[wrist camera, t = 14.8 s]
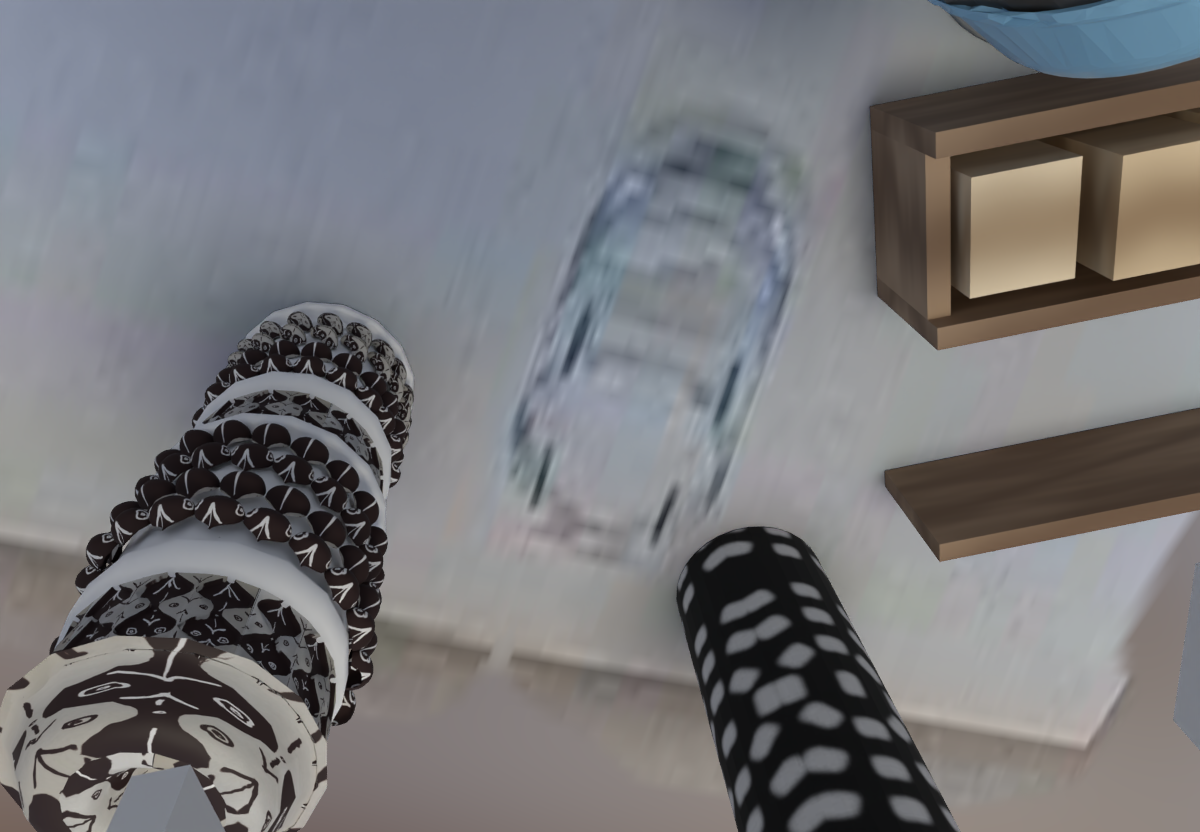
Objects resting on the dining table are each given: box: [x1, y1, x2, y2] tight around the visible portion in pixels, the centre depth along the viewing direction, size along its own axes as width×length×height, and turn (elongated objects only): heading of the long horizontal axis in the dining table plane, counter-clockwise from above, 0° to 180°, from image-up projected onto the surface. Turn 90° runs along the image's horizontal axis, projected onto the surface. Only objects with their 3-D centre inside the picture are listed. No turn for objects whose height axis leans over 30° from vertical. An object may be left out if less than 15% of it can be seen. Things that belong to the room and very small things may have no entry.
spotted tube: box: [677, 527, 960, 832], centre depth 43 cm, size 8×8×20 cm
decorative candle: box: [0, 302, 414, 832], centre depth 33 cm, size 9×9×25 cm
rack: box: [870, 57, 1200, 562], centre depth 43 cm, size 20×18×7 cm
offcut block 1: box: [950, 140, 1083, 299], centre depth 40 cm, size 5×4×7 cm
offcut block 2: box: [1036, 115, 1200, 281], centre depth 40 cm, size 5×4×8 cm
